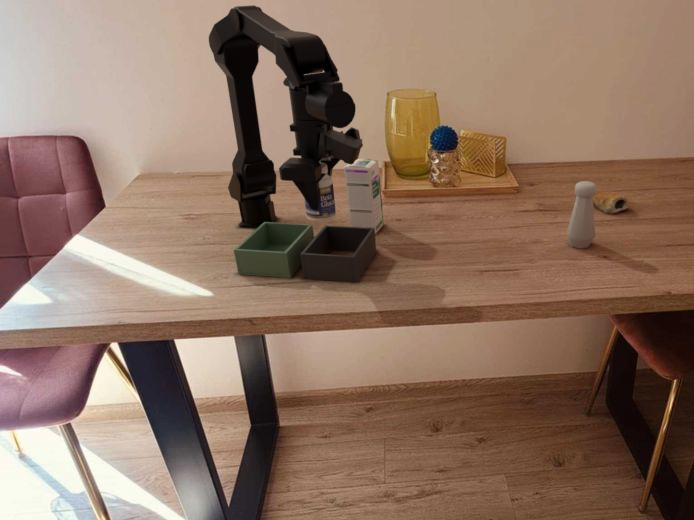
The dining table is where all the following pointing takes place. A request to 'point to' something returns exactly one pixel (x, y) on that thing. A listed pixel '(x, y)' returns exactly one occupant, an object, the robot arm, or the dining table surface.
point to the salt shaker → (582, 216)
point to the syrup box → (364, 194)
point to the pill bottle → (323, 199)
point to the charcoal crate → (338, 266)
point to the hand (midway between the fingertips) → (320, 204)
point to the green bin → (273, 249)
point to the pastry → (610, 202)
